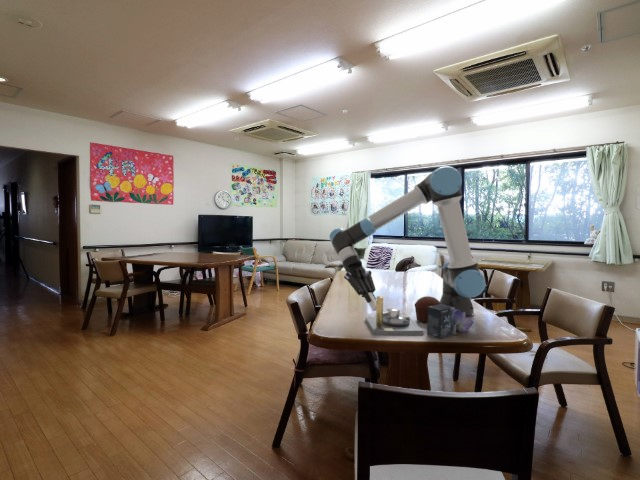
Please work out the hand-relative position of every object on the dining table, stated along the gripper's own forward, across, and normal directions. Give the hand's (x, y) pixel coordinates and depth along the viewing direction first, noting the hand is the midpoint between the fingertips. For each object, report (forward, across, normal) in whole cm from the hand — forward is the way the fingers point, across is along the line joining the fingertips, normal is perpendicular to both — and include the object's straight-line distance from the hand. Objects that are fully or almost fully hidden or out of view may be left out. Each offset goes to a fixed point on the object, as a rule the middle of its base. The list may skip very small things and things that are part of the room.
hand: (375, 308), depth 123 cm
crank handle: (+5, -7, -3) cm, 9 cm away
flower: (+18, -25, +7) cm, 32 cm away
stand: (+7, -8, -5) cm, 11 cm away
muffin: (+8, -26, -4) cm, 28 cm away
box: (+17, -16, +6) cm, 25 cm away
